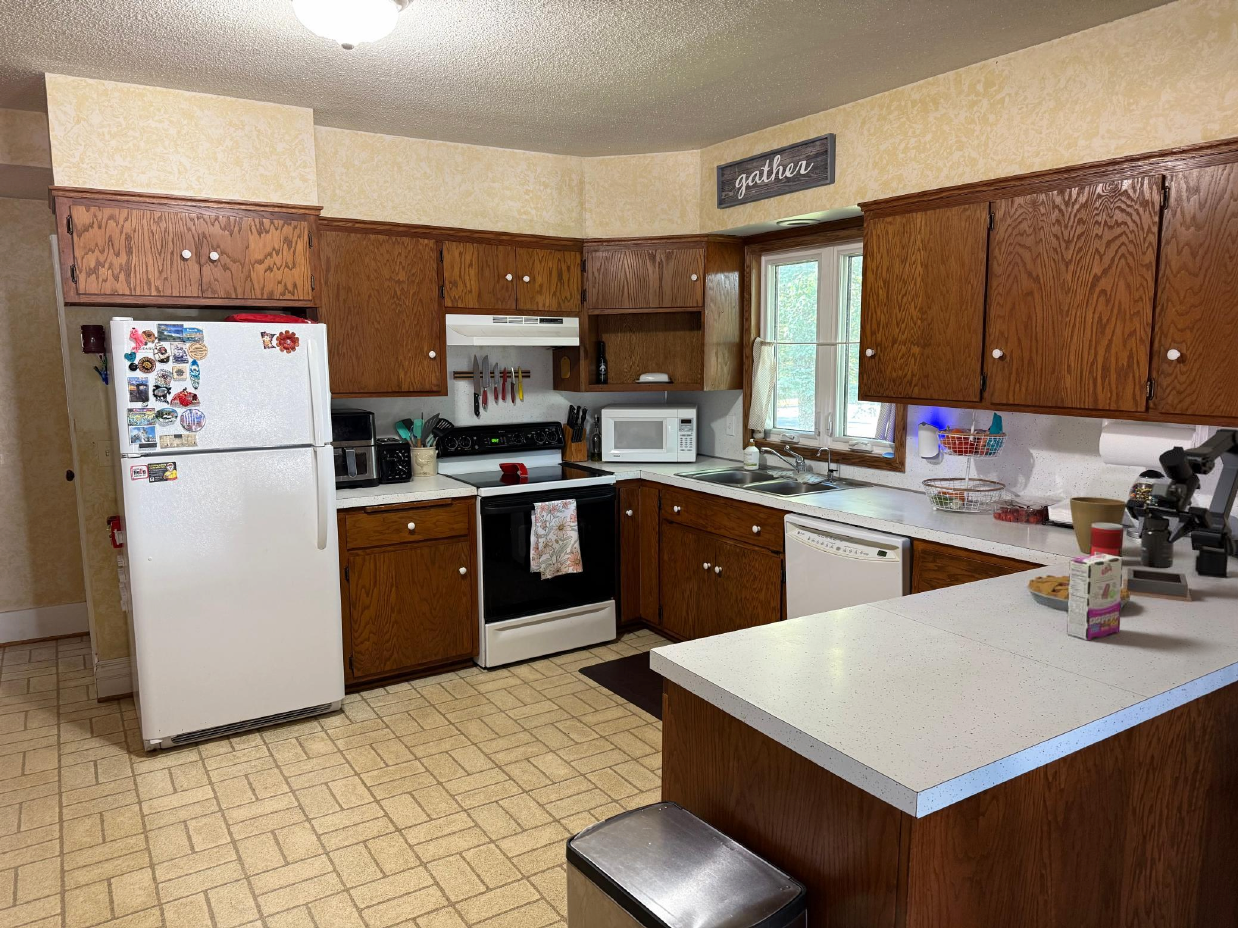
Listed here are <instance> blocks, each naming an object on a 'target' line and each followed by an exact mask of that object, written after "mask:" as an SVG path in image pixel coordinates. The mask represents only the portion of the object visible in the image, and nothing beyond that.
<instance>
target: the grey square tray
mask: <svg viewBox="0 0 1238 928" xmlns="http://www.w3.org/2000/svg"><path fill="white" fill-rule="evenodd" d="M1126 574H1127V575H1126V578H1122V588H1125V589H1127V590H1128V593H1129V594H1130V596H1138V597H1147V598H1155V599H1165V600H1174V601H1184V602H1192V596H1191V593H1190V590H1189V585H1188V581H1187V577H1186V574H1185V573H1178V572H1169V571H1168V572H1167V571H1157V570H1150V569H1149V570H1147V569H1139V568H1138V569H1137V568H1128V567H1127V573H1126Z"/></svg>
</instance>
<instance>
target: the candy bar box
mask: <svg viewBox="0 0 1238 928" xmlns="http://www.w3.org/2000/svg"><path fill="white" fill-rule="evenodd" d="M1123 559H1124V558H1123V556H1122V557H1117V556H1113V555H1108V554H1099V555H1093V556H1090V555H1089V556H1084V557H1078V558H1073V559H1070V560H1069V571H1068V572H1069V575H1068V576H1069V599H1068V611H1067V625H1066V629H1067V630H1066V634H1067V635H1068V636H1070V637H1073V638H1077V639H1080V640H1084V641H1091V640H1096V639H1099V638H1103V637H1107V636H1110V635H1114V634H1118V633H1121V631H1120V630H1121V629H1120V626H1121V610H1122V609H1121V588H1123V565H1124V564H1123V561H1124V560H1123ZM1120 609H1121V610H1120Z"/></svg>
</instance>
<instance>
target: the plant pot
mask: <svg viewBox="0 0 1238 928" xmlns="http://www.w3.org/2000/svg"><path fill="white" fill-rule="evenodd" d="M1069 503H1070V505H1069V506H1070V513H1071V521H1072V526H1073V530H1074V534H1075V537H1076V542H1077V545H1078V548H1079V550H1080V552H1082V553H1086V554H1088V555H1090V540H1091V526H1092V524H1093V523H1113V524H1119V525H1122V523H1123V518H1124V514H1125V512H1126V511H1125V510H1126V507H1125V504H1126V503H1127V501H1125V500H1120V499H1114V498H1108V497H1107V498H1106V497H1096V496H1095V497H1093V496H1091V497H1090V496H1075V497H1074V496H1073V497H1070V498H1069Z"/></svg>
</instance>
